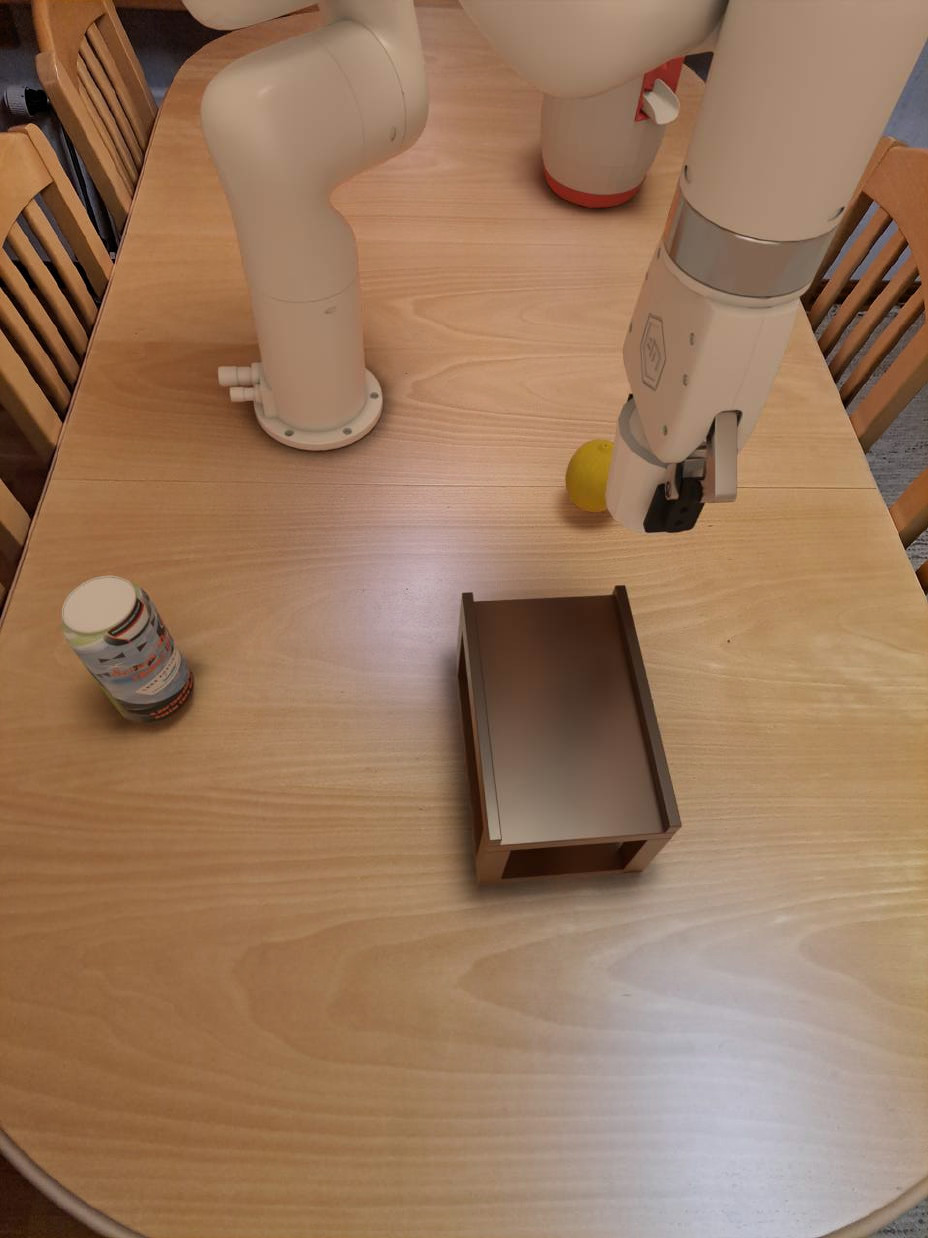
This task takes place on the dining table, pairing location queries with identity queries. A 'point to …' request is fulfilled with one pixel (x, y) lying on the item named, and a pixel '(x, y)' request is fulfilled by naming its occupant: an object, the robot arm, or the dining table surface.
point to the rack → (560, 739)
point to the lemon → (589, 475)
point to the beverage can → (127, 648)
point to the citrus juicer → (608, 137)
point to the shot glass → (636, 472)
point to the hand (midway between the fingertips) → (653, 481)
